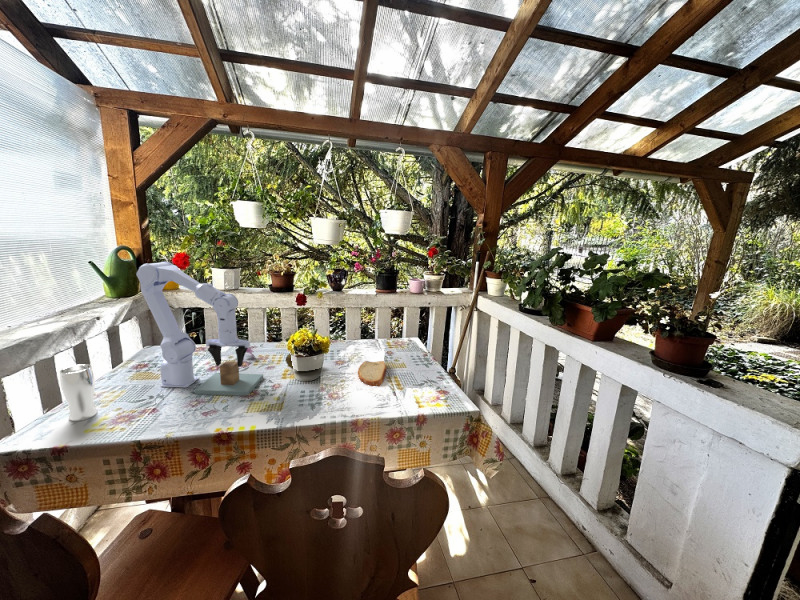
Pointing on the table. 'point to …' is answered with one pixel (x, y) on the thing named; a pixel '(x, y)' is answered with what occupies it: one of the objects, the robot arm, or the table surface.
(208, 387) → the slate board
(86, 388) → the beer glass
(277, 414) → the table surface
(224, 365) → the walnut block
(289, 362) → the potato
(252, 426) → the table surface
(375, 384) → the slice of bread
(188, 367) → the robot arm
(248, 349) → the lily
